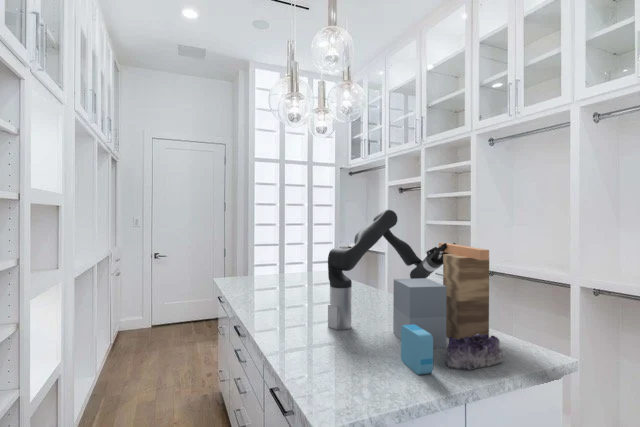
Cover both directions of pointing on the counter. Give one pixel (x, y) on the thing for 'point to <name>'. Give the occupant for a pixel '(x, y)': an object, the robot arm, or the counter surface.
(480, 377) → the counter surface
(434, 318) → the low stand
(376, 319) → the counter surface
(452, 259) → the tall tower
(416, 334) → the blue flat block
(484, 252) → the bar
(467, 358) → the geode
